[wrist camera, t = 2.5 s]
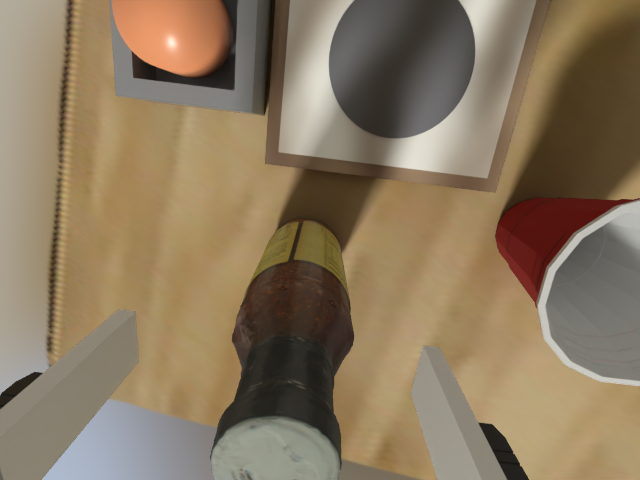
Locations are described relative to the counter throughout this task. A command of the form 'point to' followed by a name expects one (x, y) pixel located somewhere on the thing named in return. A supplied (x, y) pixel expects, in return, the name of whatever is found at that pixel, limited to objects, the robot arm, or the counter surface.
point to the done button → (177, 33)
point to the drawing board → (400, 87)
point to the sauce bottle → (288, 362)
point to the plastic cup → (581, 279)
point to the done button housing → (216, 89)
